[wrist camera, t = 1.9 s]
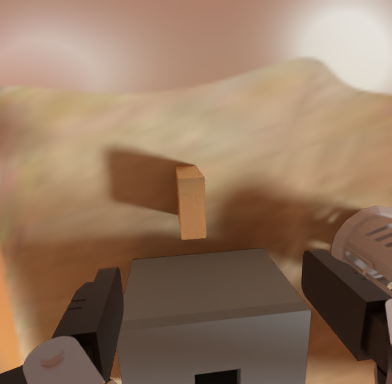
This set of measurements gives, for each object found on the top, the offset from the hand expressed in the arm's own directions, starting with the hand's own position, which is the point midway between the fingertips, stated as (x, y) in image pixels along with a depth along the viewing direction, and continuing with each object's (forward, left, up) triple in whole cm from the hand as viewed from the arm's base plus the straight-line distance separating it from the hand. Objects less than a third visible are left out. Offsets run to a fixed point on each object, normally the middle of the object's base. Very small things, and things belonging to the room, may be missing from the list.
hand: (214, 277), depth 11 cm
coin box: (-1, +15, -16) cm, 22 cm away
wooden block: (0, 0, -16) cm, 16 cm away
